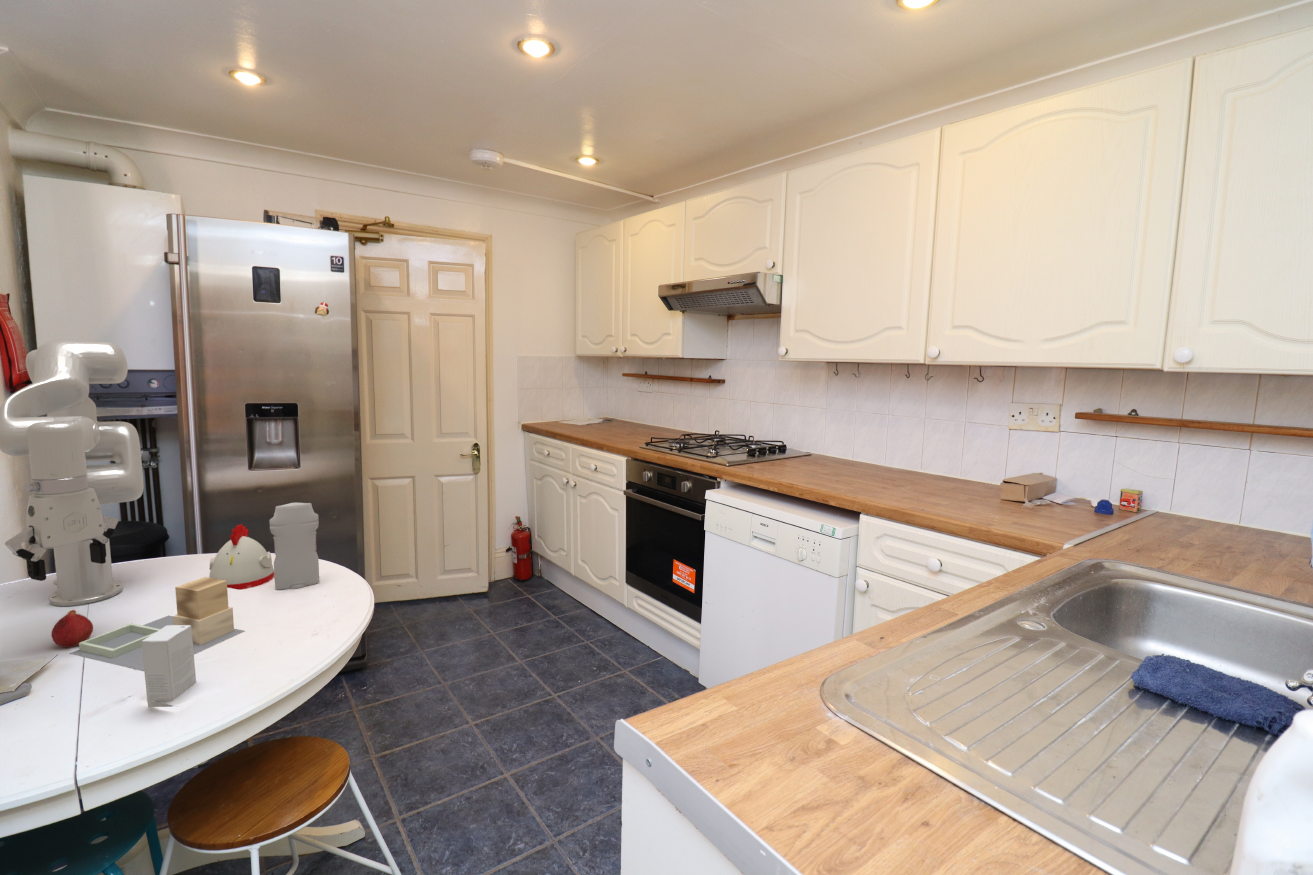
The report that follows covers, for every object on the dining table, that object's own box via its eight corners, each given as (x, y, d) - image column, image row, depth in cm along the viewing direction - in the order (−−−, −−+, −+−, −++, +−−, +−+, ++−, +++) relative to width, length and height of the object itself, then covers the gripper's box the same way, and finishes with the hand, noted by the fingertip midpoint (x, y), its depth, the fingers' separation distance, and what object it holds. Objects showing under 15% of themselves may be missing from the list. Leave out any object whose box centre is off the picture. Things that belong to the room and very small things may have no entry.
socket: (79, 650, 115) (78, 642, 115) (132, 629, 124) (131, 623, 123) (113, 658, 112) (112, 650, 112) (164, 636, 121) (164, 629, 121)
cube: (177, 615, 120) (175, 586, 119) (207, 603, 126) (205, 576, 125) (199, 619, 118) (197, 591, 118) (228, 607, 124) (226, 580, 123)
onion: (68, 657, 114) (64, 618, 113) (45, 653, 115) (41, 614, 114) (102, 643, 120) (98, 606, 119) (79, 640, 121) (75, 602, 120)
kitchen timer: (198, 592, 146) (194, 533, 144) (224, 572, 160) (221, 518, 158) (261, 589, 150) (258, 531, 148) (282, 569, 163) (279, 517, 161)
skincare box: (172, 687, 105) (167, 624, 104) (197, 687, 106) (192, 624, 104) (145, 707, 99) (140, 640, 98) (172, 707, 100) (167, 640, 98)
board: (69, 659, 114) (69, 653, 114) (169, 620, 131) (168, 615, 131) (153, 679, 108) (152, 673, 108) (245, 636, 125) (245, 630, 125)
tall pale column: (273, 592, 148) (268, 506, 145) (272, 587, 151) (268, 503, 148) (322, 584, 154) (318, 502, 151) (320, 579, 157) (316, 498, 154)
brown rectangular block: (174, 639, 120) (172, 615, 120) (209, 624, 127) (207, 602, 126) (200, 644, 118) (198, 621, 118) (234, 629, 125) (232, 607, 124)
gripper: (15, 497, 104) (26, 589, 107) (125, 478, 121) (132, 559, 123) (-13, 493, 106) (-2, 584, 108) (99, 475, 123) (106, 554, 125)
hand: (69, 570), depth 116 cm, fingers open, 9 cm apart
